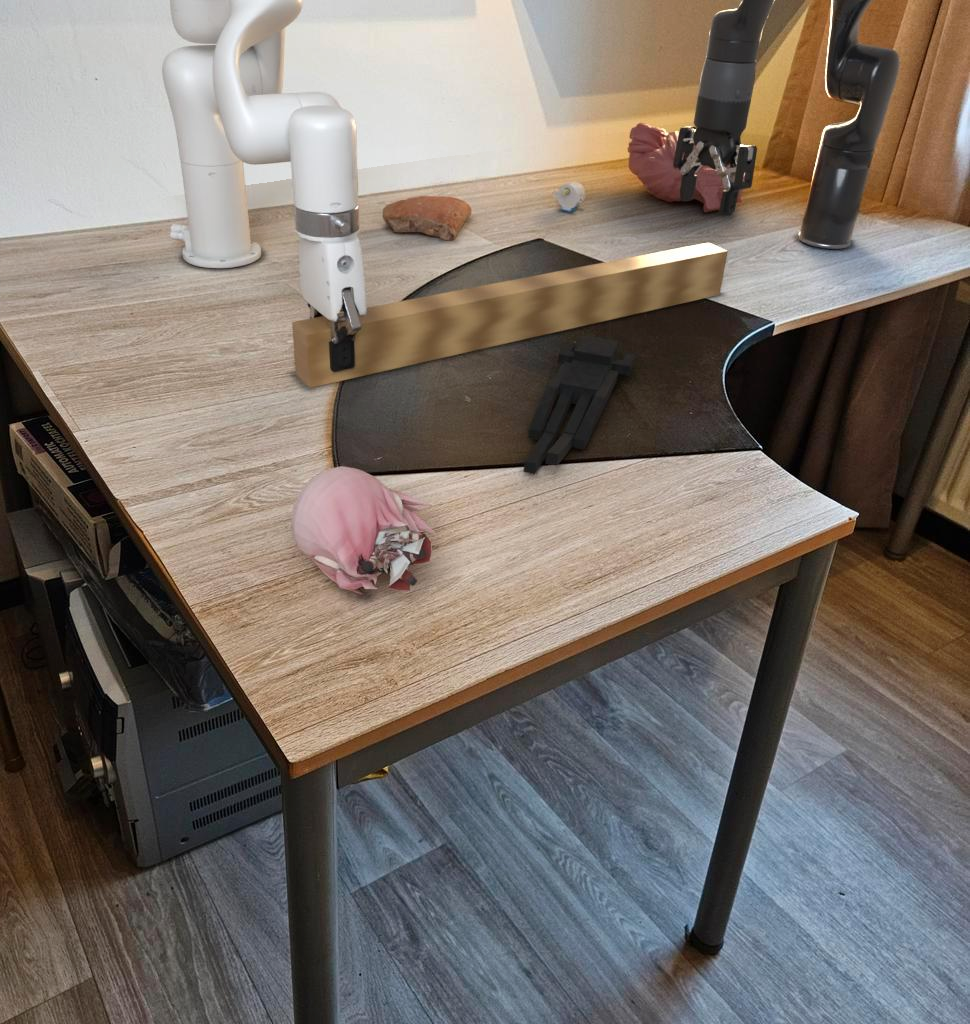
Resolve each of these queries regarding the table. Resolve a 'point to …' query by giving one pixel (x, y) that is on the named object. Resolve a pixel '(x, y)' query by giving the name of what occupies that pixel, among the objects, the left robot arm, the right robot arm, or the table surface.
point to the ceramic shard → (428, 215)
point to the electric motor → (570, 196)
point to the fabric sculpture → (669, 168)
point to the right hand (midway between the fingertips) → (705, 207)
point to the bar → (510, 311)
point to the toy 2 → (575, 398)
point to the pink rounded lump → (359, 529)
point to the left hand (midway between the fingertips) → (333, 359)
